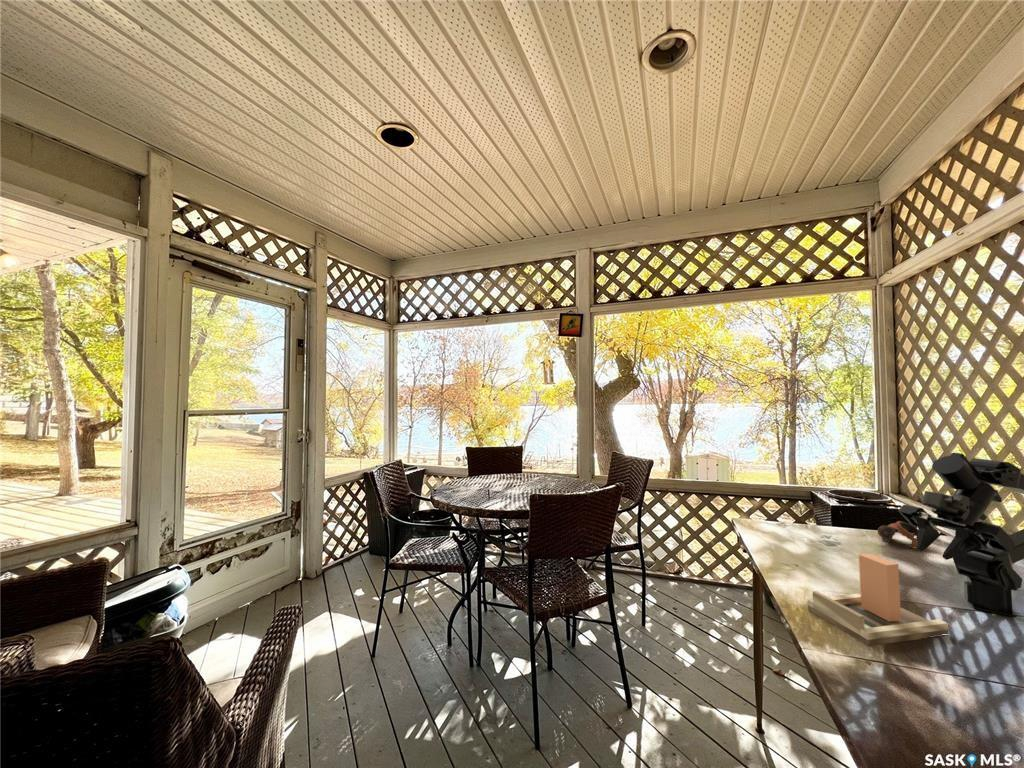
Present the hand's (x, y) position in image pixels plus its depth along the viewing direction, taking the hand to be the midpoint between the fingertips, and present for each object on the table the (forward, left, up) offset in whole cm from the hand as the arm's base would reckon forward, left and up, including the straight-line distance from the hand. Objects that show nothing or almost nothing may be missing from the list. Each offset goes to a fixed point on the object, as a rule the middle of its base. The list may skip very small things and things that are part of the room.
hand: (931, 554), depth 93 cm
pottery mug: (-1, -54, -14) cm, 55 cm away
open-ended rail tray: (+11, +12, -14) cm, 21 cm away
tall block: (+10, +10, -12) cm, 19 cm away
